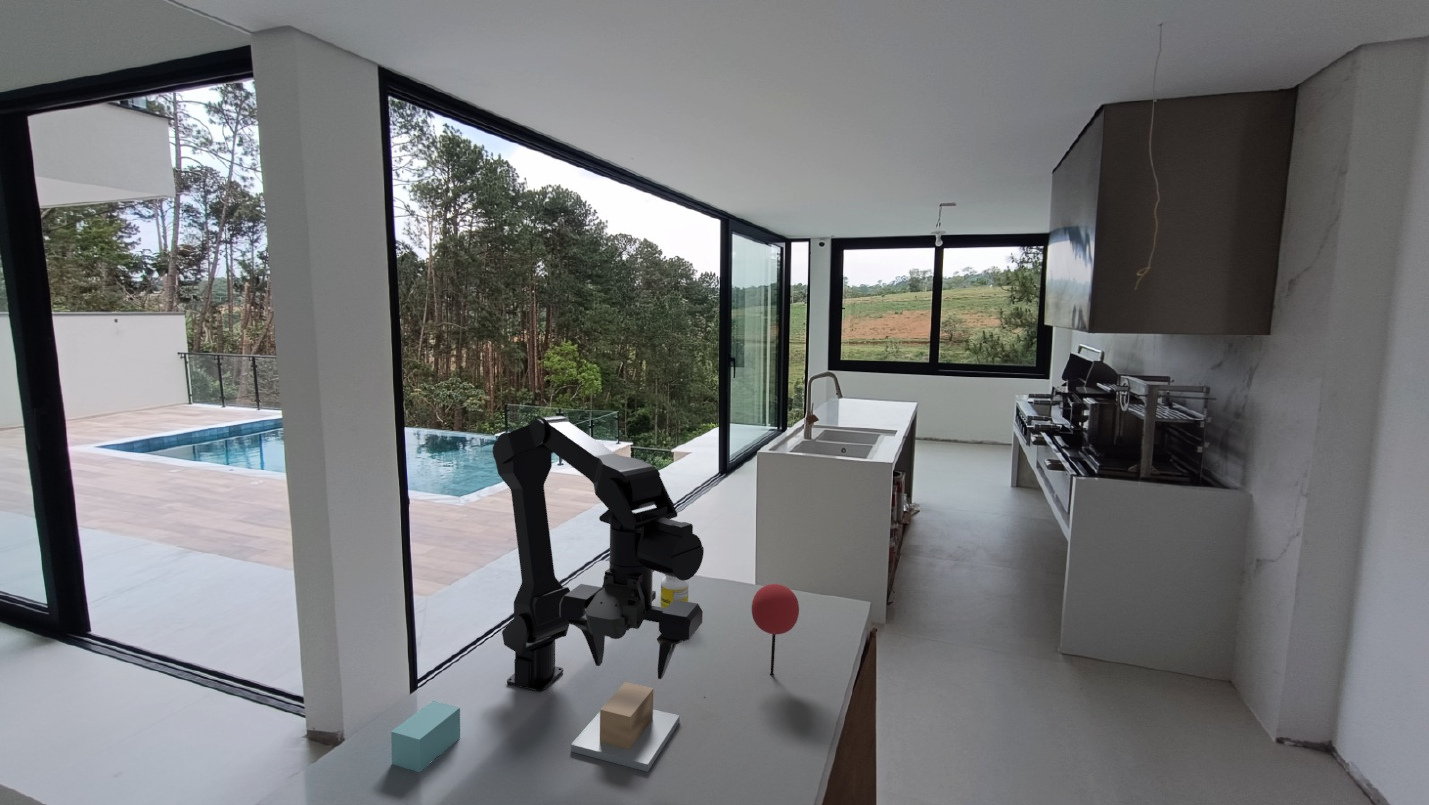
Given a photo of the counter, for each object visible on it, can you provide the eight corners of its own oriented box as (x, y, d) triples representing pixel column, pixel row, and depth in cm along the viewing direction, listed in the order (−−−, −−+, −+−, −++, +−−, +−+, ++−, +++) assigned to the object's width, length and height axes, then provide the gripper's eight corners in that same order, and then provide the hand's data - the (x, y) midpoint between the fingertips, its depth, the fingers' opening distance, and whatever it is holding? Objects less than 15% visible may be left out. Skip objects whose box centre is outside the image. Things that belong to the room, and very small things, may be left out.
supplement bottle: (656, 612, 125) (657, 564, 124) (681, 608, 128) (683, 561, 126) (665, 623, 120) (667, 574, 119) (692, 619, 123) (693, 570, 122)
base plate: (610, 705, 93) (610, 699, 93) (679, 722, 90) (679, 715, 90) (570, 751, 83) (571, 744, 83) (647, 772, 80) (647, 764, 80)
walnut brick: (624, 711, 90) (625, 681, 90) (652, 718, 89) (653, 688, 89) (599, 741, 84) (600, 709, 83) (629, 749, 82) (630, 717, 82)
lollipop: (794, 689, 99) (799, 598, 98) (746, 683, 101) (749, 593, 99) (796, 665, 107) (800, 579, 105) (751, 659, 108) (755, 575, 106)
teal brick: (433, 731, 86) (433, 700, 86) (460, 739, 85) (459, 707, 85) (391, 765, 80) (391, 731, 79) (420, 773, 78) (419, 739, 78)
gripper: (535, 570, 79) (535, 688, 81) (674, 593, 73) (671, 719, 75) (581, 543, 90) (580, 648, 91) (705, 561, 84) (702, 673, 85)
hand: (629, 671), depth 85 cm, fingers open, 9 cm apart
